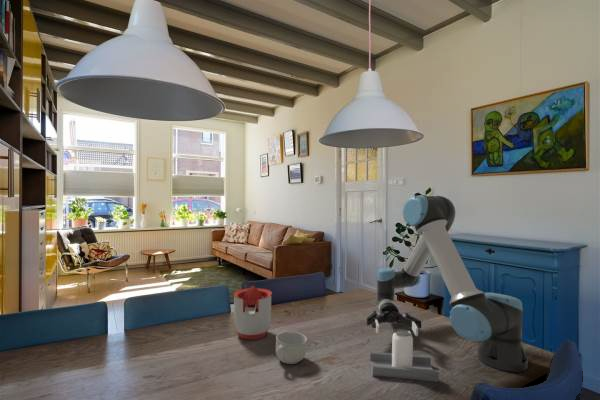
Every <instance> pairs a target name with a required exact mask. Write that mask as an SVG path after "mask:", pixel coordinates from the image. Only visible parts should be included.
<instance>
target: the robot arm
mask: <svg viewBox="0 0 600 400" xmlns="http://www.w3.org/2000/svg"><path fill="white" fill-rule="evenodd" d="M454 205H455V204H454V203H453V202H452V201H451V200H450V199H449V198H447V197H445V196H443V195H442V196H441V195H422V194H421V195H413V196H411V197H409V198H408V199H407V200H406V202H405V203H404V205H403V210H402V217H403V220H404V221H405V223H406V224H407V225H409V226H410V227H413V228H414V229H415V231H416V234H417V235H419V238H418V240H417V242H416V244H415V245H414V247H413V249H412V250H411V252H410V255H409V257H408V258H407V260H406V262H405V263H404V265H403V267H402V268H401V270H400V271H395V269H393V268H391V267H380V268H379V269H378V270H377V277H376V281H377V285H376V286H377V287H376V289H377V291H376V299H375V305H376V306H377V308H378V310H379V312H378V311H376V310H374V311H373V313H371V314H370V315H368V317H366V325H367V326H369V325H371V328H372V329H375V332H376V334H380V324H385V323H388V324H391V323H397V324H399V325H400V324H403V325H405V326H408V327H410V328H411V330H412V332H413V334H414V336H416V337H419V331H420V329H422V321H421V320H419V319H418V318H416V317H414V316H413V315H410V313H408V312H404V314H402V313H401V312H400V311H399V309H398V307H397V304H396V303H395V290H398V289H403V288H412V287H415V286H418V285H419V284H420V282H421V276H420V274H421V272H422V270H423V268H424V267H425V265H426V264H427V262H428V261H429V259H430V257H432V258H433V261H434V263H435V264H436V267H437V269H438V270H439V273H440V275H441V277H442V280H443V282H444V284H445V286H446V288H447V290H448V292H449V294H450V295H449V296H450V297H451V298H450V301H449V305H450V307H451V310H450V311H449V314H450V315H449V322H450V325H451V327H452V329H453V330H454V332H456V334H457V335H458V336H460V337H461V338H463V339H465V340H466V341H469V342H479V344H478V347H477V350H476V356H477V359H478V360H479V361H480V362H481V363H484V364H485V365H487V366H489V367H491V368H494V369H497V370H501V371H505V372H513V373H514V372H515V373H519V372H524V371H527V369H528V368H529V367H528V363H529V359H528V358H527V354H526V351H525V349H524V346H523V313H524V309H523V302H522V301H521V300H520V299H519V298H517V297H514V296H511V295H508V294H507V295H506V294H502V293H497V292H484V291H482V290H479V289H478V288H477V287H476V286H475V283H474V281H473V279H472V277H471V275H470V273H469V271H468V270H467V267H466V266H465V263H464V261H463V260H462V258H461V255H460V254H459V252H458V250H457V247H456V245H455V244H454V242H453V240H452V238H451V236H450V234H449V231H450V229H451V228H452V225H453V224H454V222H455V218H456V208H455V206H454ZM431 255H432V256H431Z"/></svg>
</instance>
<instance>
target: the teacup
mask: <svg viewBox="0 0 600 400" xmlns="http://www.w3.org/2000/svg"><path fill="white" fill-rule="evenodd" d="M275 339H276V340H275V355H276V357H277V358H278V359H279V360H280V361H281V362H282V363H283V364H286V365H295V364H296V365H297V364H298V363H299V362H300V361H303V359H304V358H305V357H306V352H307V342H308V338H307V336H306V335H304V334H303V333H300V332H297V331H281V332H279V333H278V334H277V335H275Z"/></svg>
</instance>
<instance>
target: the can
mask: <svg viewBox="0 0 600 400" xmlns="http://www.w3.org/2000/svg"><path fill="white" fill-rule="evenodd" d="M391 338H392V339H391V342H392V344H391V345H392V346H391V353H392V367H403V368H412V365H413V355H414V354H413V353H414V352H413V351H414V338H413V335H412V332H411V331H410V330H407V329H404V328H403V329H402V328H398V329H394V330H393V334H392V337H391Z"/></svg>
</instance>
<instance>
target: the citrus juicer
mask: <svg viewBox="0 0 600 400" xmlns="http://www.w3.org/2000/svg"><path fill="white" fill-rule="evenodd" d="M272 295H273V292H272V291H271V290H270V289H266V288H259V287H256V286H255V285H251V287H249V288H243V289H239V290H236V291H234V292H233V322H234V326H235V330H236V333H237V336H238V337H239V338H241V339H244V340H258V339H259V340H261V339H262V338H264V337H266V336H267V333H268V331H269V327H270V324H271V320H272V319H271V318H272Z"/></svg>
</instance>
